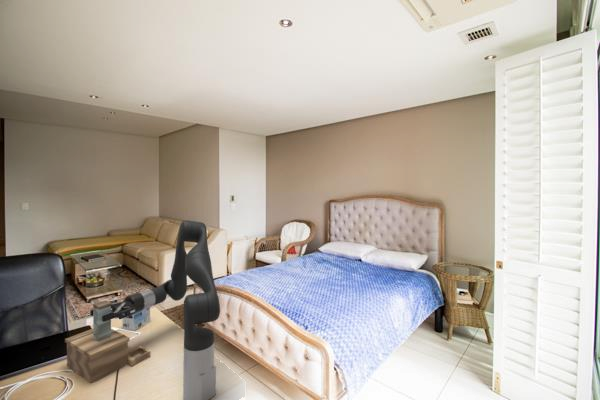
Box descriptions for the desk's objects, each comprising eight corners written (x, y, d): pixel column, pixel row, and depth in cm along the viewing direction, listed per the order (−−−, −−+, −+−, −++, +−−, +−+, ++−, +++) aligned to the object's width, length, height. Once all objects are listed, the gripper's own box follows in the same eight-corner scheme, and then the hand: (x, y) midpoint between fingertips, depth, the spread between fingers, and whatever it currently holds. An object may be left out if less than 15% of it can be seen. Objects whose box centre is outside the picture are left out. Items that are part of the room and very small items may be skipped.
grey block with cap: (111, 336, 104) (111, 302, 104) (98, 342, 101) (99, 306, 100) (105, 333, 106) (105, 300, 106) (93, 338, 103) (93, 304, 102)
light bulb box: (133, 331, 128) (134, 308, 128) (121, 329, 129) (121, 307, 129) (150, 321, 139) (151, 299, 138) (139, 319, 140) (139, 298, 140)
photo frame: (110, 326, 131) (141, 332, 126) (110, 328, 131) (141, 334, 126) (78, 342, 117) (112, 350, 112) (78, 345, 117) (112, 352, 112)
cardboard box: (150, 356, 109) (150, 331, 109) (93, 386, 92) (93, 356, 92) (121, 341, 120) (121, 318, 119) (64, 366, 102) (64, 338, 102)
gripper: (130, 289, 119) (86, 301, 105) (150, 296, 112) (106, 310, 98) (130, 306, 119) (86, 321, 105) (150, 314, 112) (106, 331, 98)
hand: (96, 316), depth 101 cm, fingers open, 8 cm apart
